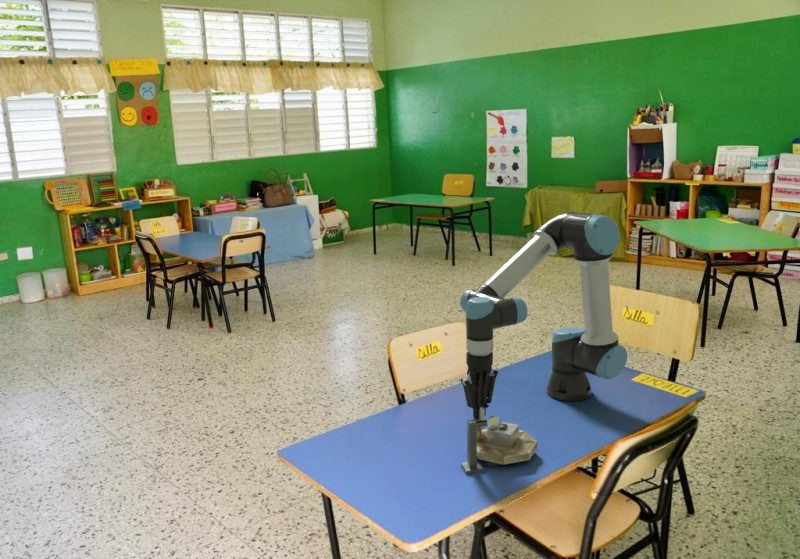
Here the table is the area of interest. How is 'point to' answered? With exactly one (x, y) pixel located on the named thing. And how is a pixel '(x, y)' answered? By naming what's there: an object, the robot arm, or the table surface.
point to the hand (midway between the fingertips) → (479, 427)
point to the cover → (504, 435)
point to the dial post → (473, 463)
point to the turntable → (505, 448)
